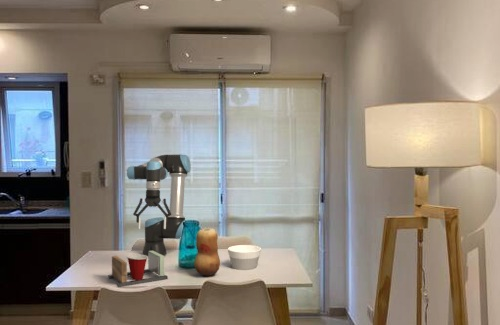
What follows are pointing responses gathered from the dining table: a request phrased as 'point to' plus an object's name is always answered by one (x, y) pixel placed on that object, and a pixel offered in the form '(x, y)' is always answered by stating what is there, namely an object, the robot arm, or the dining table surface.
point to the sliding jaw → (156, 262)
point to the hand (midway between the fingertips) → (152, 228)
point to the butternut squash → (207, 252)
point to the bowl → (244, 256)
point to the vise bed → (128, 273)
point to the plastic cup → (137, 265)
